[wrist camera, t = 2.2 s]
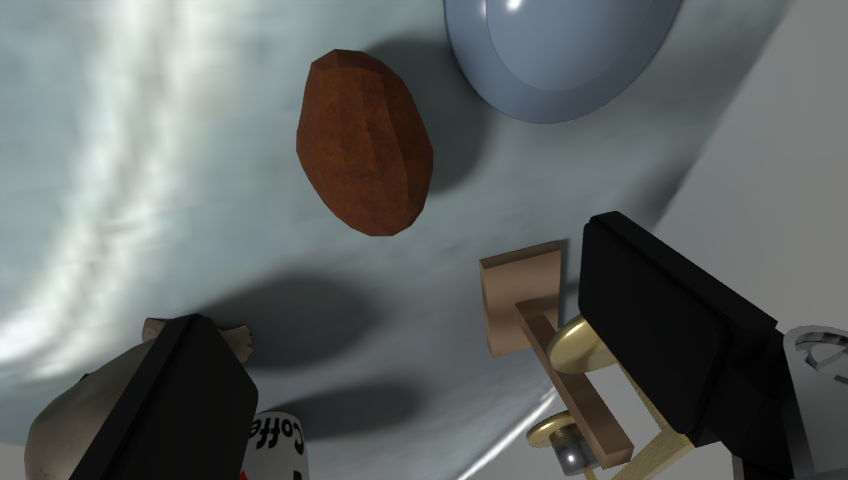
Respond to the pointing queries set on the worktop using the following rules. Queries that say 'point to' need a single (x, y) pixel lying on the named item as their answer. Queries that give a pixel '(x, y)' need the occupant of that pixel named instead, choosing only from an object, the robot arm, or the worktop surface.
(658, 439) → the balance beam
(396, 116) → the potato
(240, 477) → the cup
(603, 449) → the balance stand
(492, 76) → the plate
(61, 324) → the worktop surface
